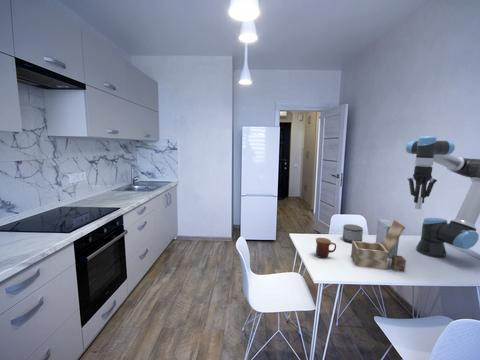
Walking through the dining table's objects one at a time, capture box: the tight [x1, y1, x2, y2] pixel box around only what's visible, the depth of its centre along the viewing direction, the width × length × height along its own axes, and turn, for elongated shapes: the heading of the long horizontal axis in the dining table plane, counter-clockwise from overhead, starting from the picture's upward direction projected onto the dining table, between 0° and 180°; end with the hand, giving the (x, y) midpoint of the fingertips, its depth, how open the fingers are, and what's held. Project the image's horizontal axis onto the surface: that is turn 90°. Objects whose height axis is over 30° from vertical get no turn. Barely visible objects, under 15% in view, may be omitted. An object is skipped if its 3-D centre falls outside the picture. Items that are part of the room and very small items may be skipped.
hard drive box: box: [375, 218, 400, 259], centre depth 152 cm, size 16×8×20 cm, turn 168°
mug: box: [315, 237, 337, 259], centre depth 145 cm, size 12×9×10 cm
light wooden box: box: [350, 241, 389, 270], centre depth 138 cm, size 16×12×10 cm
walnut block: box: [390, 254, 407, 273], centre depth 132 cm, size 5×5×7 cm
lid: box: [382, 219, 406, 252], centre depth 134 cm, size 16×12×1 cm
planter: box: [342, 223, 364, 244], centre depth 171 cm, size 13×13×10 cm
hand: (418, 208), depth 129 cm, fingers closed
